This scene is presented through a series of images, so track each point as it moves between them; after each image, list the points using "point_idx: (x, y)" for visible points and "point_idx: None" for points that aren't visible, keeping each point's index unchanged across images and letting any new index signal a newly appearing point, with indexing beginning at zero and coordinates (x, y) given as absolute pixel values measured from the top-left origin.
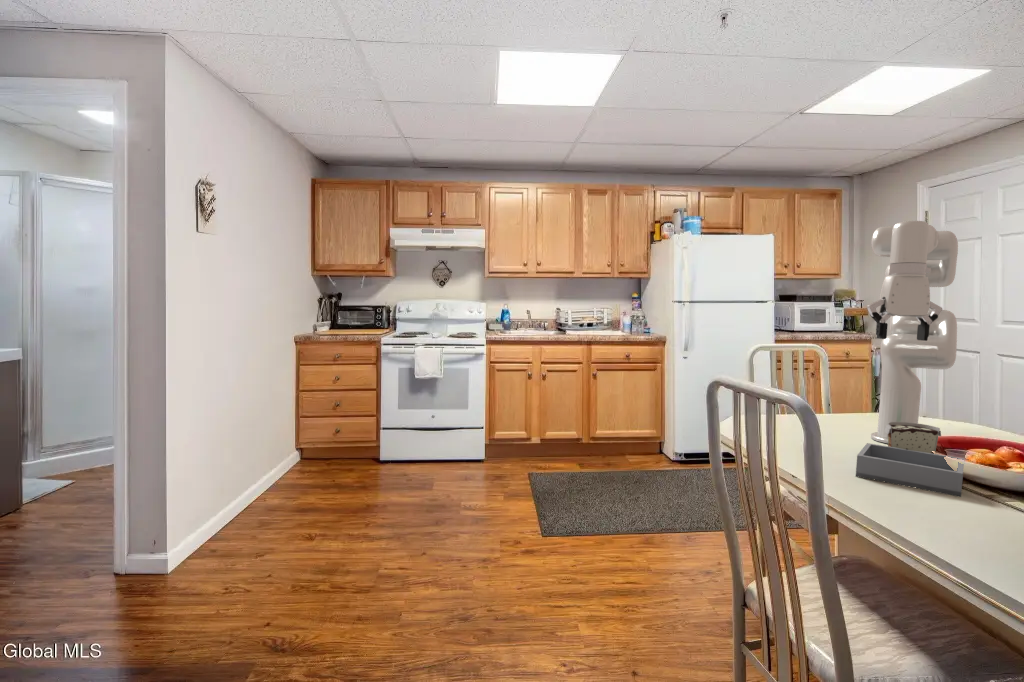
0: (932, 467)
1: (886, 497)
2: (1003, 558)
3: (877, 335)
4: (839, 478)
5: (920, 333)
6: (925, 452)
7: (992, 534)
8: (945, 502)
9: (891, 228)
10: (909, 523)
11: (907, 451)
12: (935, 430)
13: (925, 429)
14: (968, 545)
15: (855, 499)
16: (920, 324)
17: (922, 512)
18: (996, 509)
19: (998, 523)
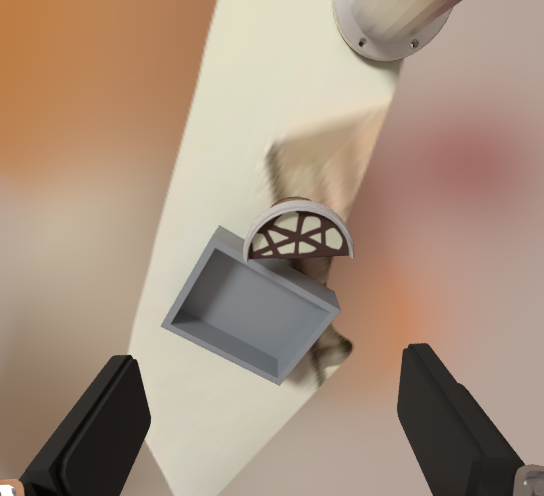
0: (251, 366)
1: (182, 377)
2: (219, 483)
3: (107, 373)
4: (145, 319)
5: (420, 417)
6: (294, 284)
7: (242, 448)
8: (247, 381)
9: None
10: (174, 437)
11: (267, 275)
12: (347, 250)
13: (330, 243)
14: (204, 468)
15: None
16: (481, 483)
17: (202, 411)
18: (295, 391)
19: (267, 425)
